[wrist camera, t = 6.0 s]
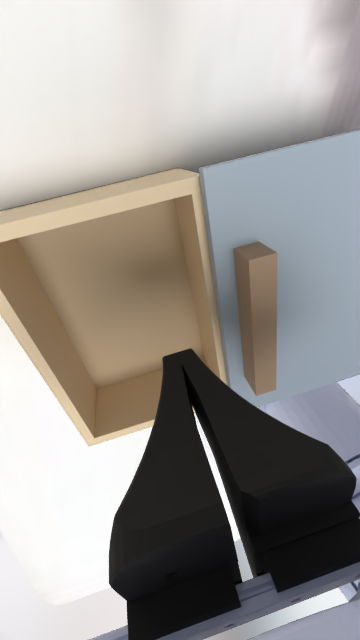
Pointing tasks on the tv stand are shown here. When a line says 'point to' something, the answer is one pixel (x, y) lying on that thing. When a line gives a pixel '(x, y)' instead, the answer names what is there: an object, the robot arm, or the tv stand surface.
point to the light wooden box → (111, 295)
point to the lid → (287, 265)
